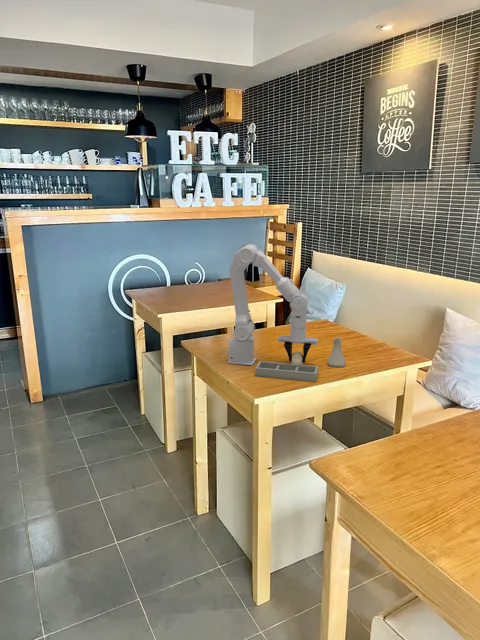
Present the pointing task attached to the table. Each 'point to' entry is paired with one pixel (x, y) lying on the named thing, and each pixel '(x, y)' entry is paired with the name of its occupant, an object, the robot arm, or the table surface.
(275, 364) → the gray compartment tray
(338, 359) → the flask
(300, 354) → the beige domed cylinder
